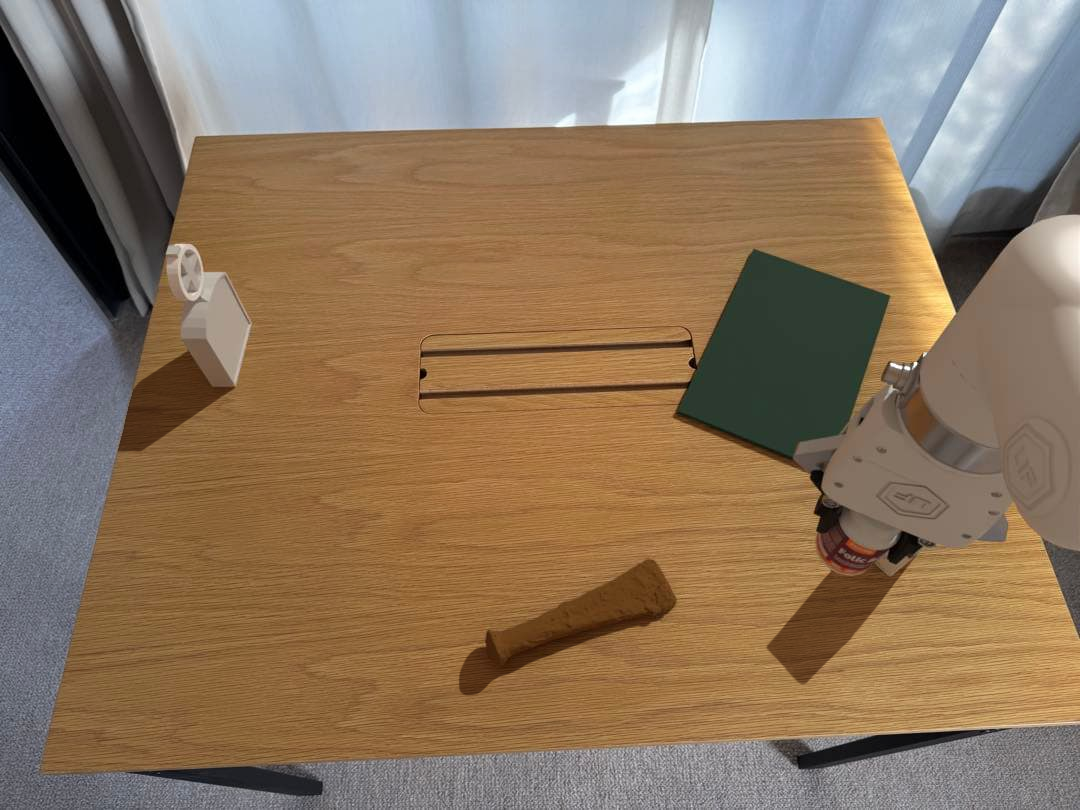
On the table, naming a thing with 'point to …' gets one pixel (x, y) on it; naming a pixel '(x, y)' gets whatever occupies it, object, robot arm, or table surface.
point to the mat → (786, 356)
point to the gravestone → (208, 315)
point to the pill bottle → (855, 542)
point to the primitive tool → (588, 611)
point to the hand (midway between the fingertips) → (860, 530)
